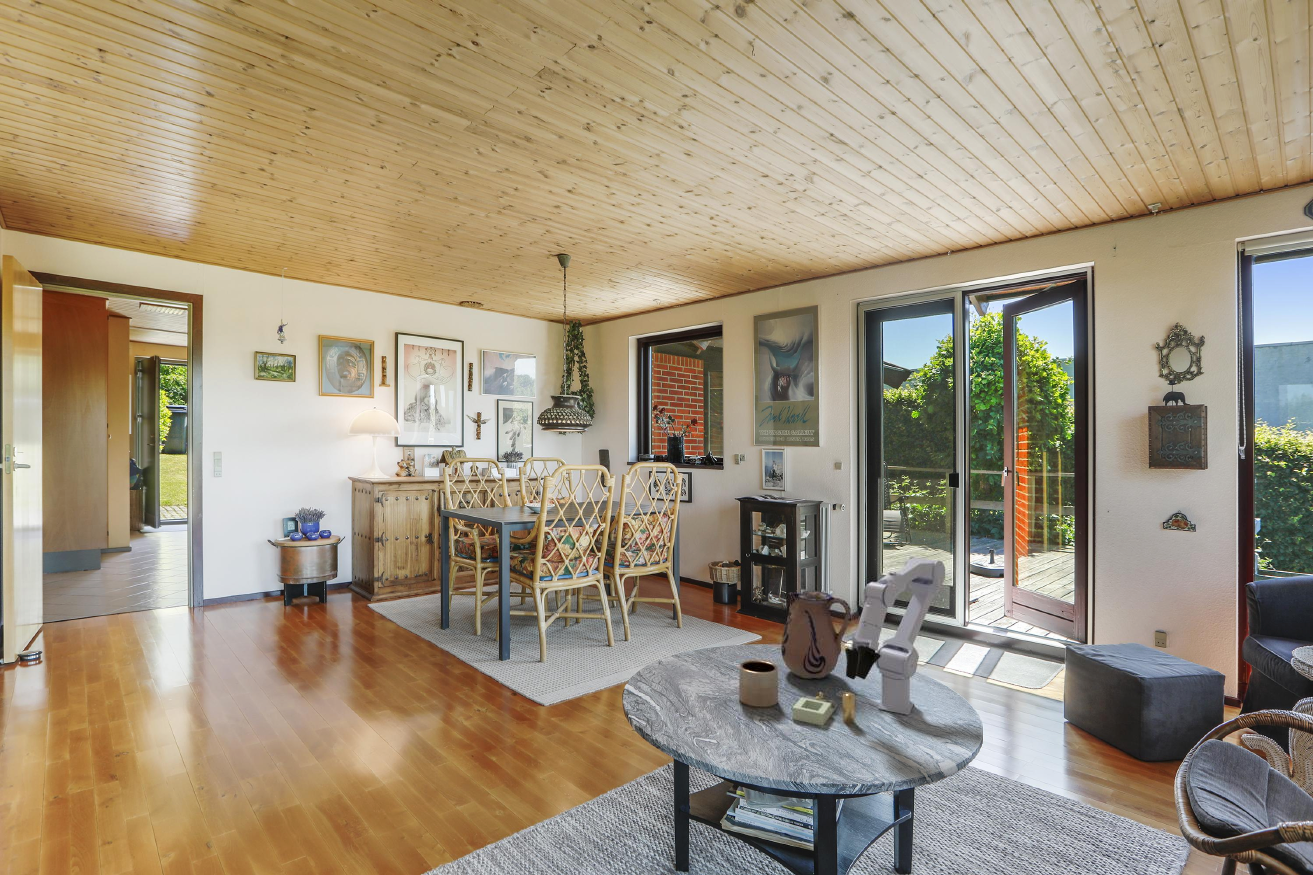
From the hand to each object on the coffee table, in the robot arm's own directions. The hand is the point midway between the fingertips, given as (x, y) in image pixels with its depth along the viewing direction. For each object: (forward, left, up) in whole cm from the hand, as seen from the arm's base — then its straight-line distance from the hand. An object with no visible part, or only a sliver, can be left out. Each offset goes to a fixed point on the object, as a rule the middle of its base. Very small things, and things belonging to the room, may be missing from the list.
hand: (855, 677), depth 162 cm
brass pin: (-3, -2, -13) cm, 13 cm away
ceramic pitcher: (-33, -19, -13) cm, 40 cm away
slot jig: (-4, -11, -13) cm, 17 cm away
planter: (-4, -27, -13) cm, 30 cm away
